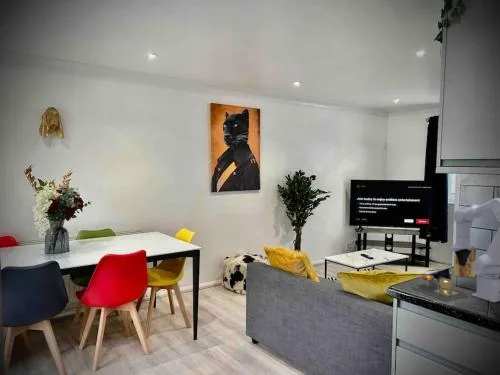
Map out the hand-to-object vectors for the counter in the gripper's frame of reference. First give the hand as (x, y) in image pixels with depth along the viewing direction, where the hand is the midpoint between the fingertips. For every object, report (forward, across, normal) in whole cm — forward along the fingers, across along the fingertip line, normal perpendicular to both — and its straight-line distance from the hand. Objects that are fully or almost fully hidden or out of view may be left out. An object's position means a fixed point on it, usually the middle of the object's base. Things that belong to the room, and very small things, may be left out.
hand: (462, 265), depth 169 cm
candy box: (+10, -16, -10) cm, 21 cm away
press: (+9, +18, +2) cm, 20 cm away
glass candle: (+8, +18, +5) cm, 20 cm away
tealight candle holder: (+8, +17, -4) cm, 20 cm away
